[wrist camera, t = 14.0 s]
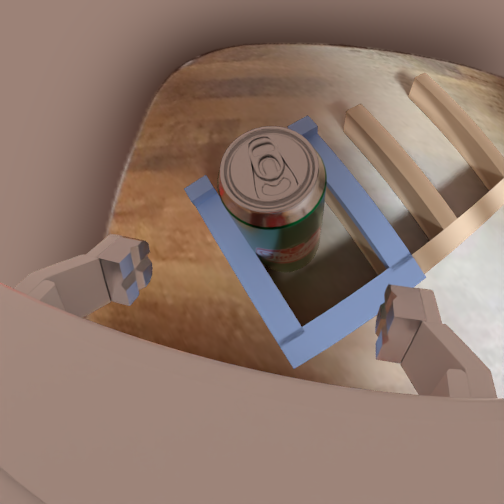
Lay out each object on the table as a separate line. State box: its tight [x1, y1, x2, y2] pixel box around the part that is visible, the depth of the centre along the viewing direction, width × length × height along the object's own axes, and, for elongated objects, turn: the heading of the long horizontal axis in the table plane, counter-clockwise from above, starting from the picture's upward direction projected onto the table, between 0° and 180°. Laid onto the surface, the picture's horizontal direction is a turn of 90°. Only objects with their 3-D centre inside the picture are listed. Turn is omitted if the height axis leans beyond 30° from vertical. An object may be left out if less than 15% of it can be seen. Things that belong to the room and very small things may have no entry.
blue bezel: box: [184, 116, 426, 369], centre depth 21 cm, size 10×14×2 cm
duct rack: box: [325, 73, 504, 276], centre depth 23 cm, size 24×14×3 cm, turn 121°
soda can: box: [218, 126, 327, 272], centre depth 19 cm, size 5×5×12 cm
